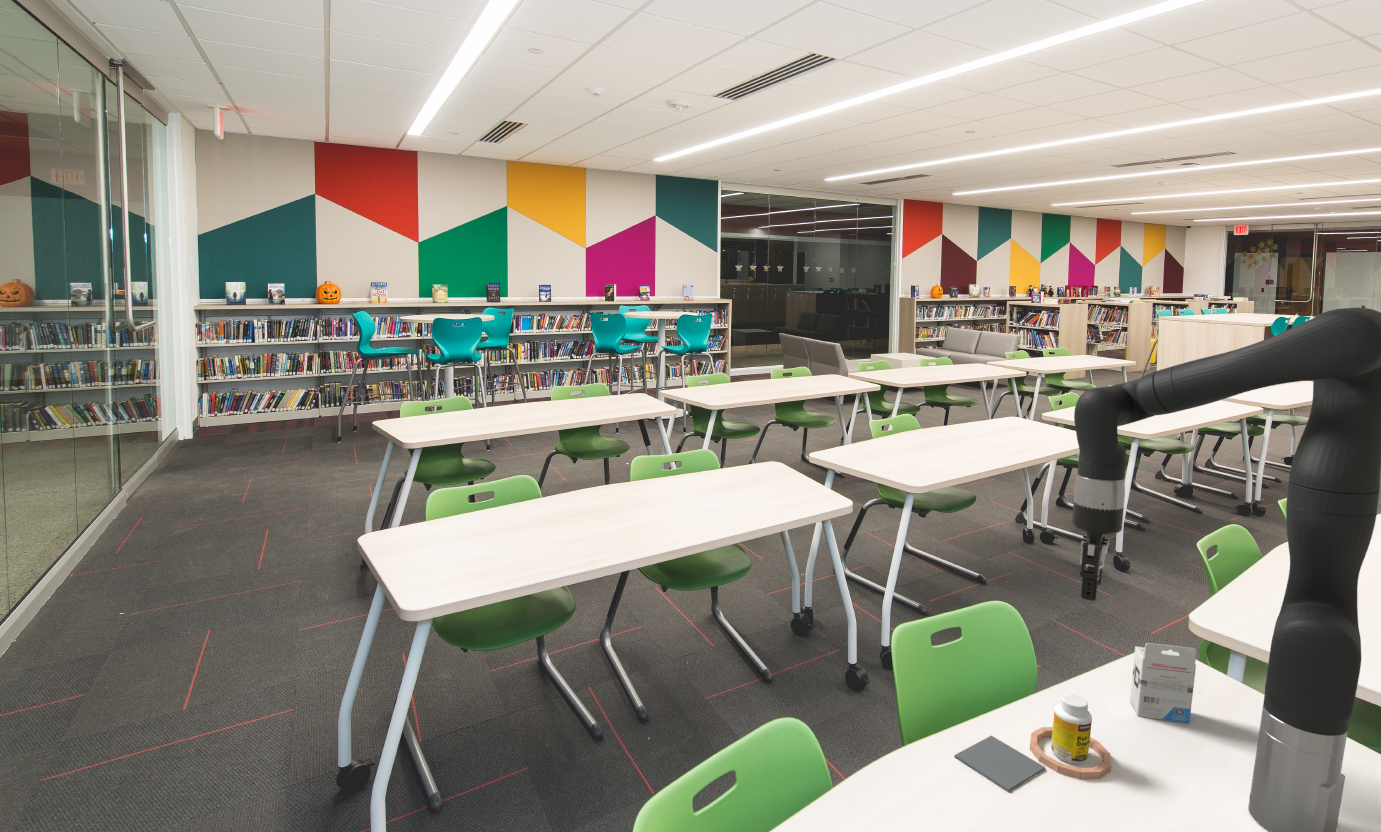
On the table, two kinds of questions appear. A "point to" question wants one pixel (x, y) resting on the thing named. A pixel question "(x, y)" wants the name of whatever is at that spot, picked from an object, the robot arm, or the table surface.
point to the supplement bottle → (1071, 729)
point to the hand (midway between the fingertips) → (1091, 591)
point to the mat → (999, 763)
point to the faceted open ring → (1066, 769)
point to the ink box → (1163, 682)
